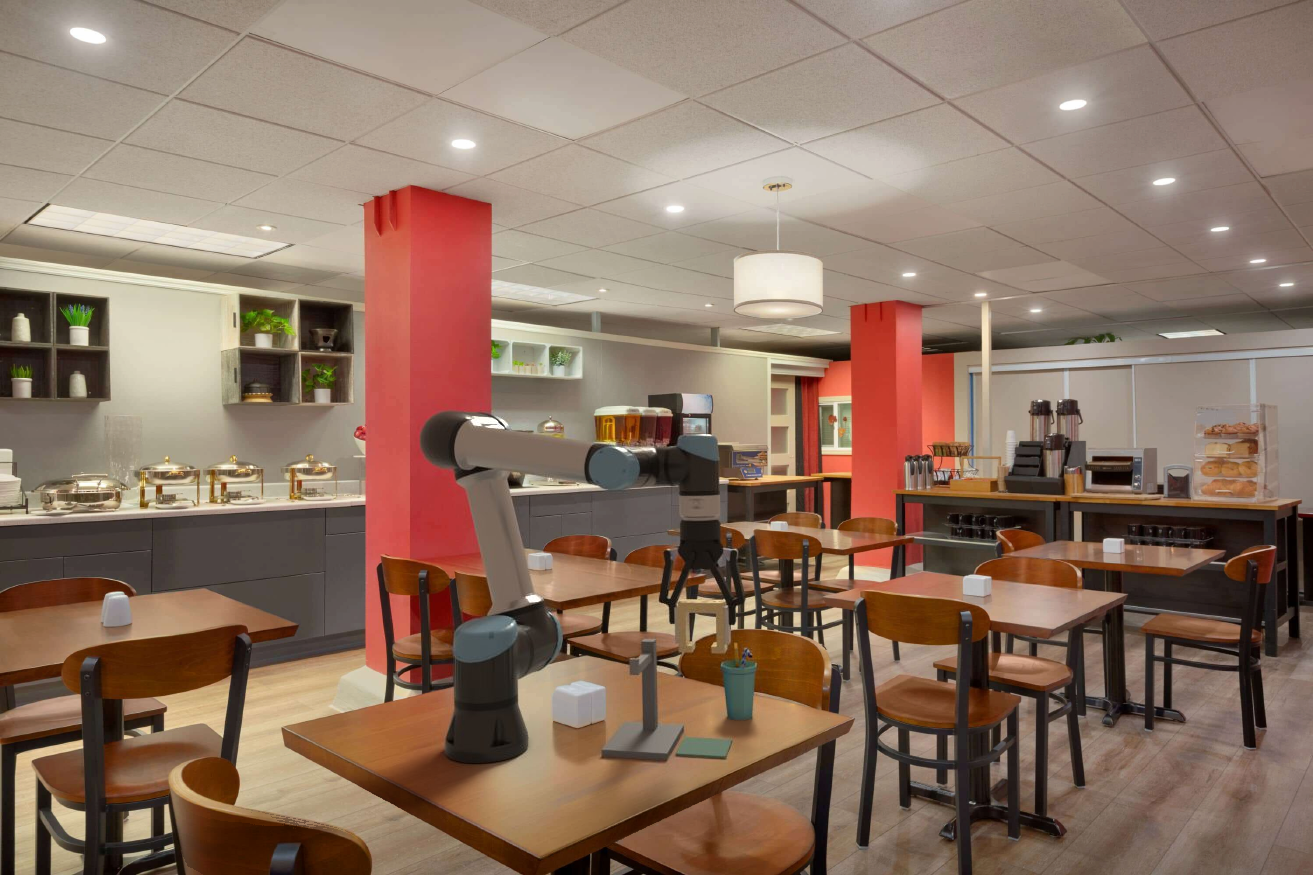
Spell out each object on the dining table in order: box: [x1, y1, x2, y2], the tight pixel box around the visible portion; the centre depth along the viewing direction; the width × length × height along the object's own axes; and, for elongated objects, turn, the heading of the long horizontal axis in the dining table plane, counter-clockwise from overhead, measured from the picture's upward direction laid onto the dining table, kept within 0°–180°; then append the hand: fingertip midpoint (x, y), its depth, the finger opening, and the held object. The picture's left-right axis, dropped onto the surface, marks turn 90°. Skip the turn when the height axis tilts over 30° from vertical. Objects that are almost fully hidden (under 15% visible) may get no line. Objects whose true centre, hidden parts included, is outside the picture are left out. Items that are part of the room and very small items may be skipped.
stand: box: [600, 638, 685, 761], centre depth 155 cm, size 12×16×18 cm
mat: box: [675, 736, 733, 759], centre depth 151 cm, size 9×9×1 cm
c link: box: [677, 598, 728, 654], centre depth 151 cm, size 8×4×9 cm, turn 77°
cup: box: [720, 642, 758, 721], centre depth 169 cm, size 14×8×15 cm, turn 12°
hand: (703, 642), depth 151 cm, fingers closed on c link, 8 cm apart
